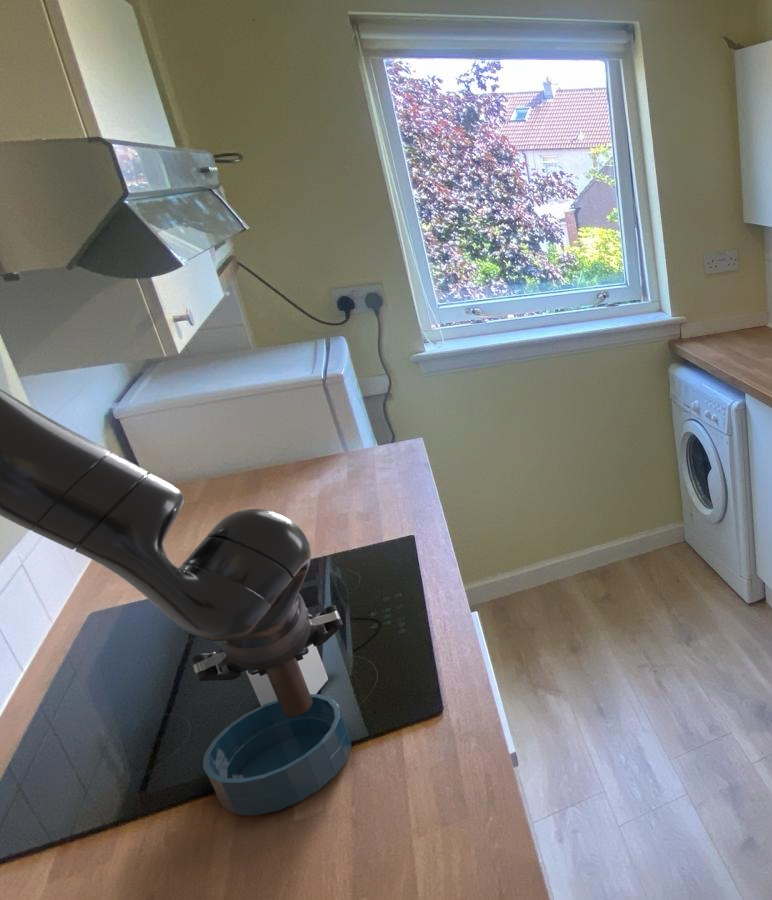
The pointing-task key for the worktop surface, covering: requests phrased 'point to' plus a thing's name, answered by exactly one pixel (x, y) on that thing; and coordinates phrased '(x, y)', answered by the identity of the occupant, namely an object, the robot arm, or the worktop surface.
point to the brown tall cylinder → (290, 688)
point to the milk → (310, 671)
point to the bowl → (277, 756)
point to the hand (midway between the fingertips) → (279, 659)
